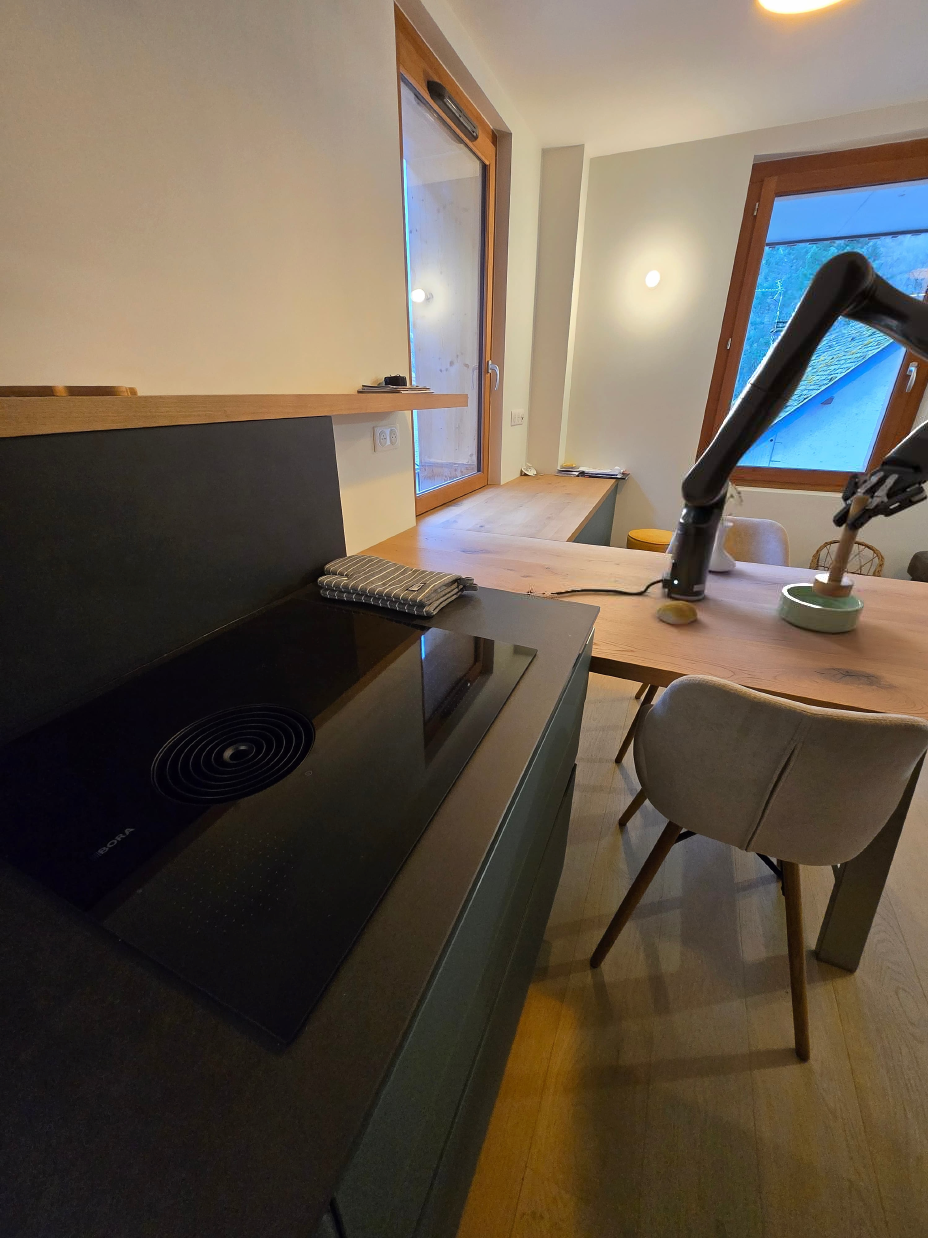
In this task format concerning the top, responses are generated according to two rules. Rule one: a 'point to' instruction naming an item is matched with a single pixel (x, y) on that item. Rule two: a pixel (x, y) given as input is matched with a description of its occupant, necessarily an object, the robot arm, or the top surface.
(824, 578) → the wooden plunger
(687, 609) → the bread roll
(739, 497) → the flower in vase
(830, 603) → the bowl
